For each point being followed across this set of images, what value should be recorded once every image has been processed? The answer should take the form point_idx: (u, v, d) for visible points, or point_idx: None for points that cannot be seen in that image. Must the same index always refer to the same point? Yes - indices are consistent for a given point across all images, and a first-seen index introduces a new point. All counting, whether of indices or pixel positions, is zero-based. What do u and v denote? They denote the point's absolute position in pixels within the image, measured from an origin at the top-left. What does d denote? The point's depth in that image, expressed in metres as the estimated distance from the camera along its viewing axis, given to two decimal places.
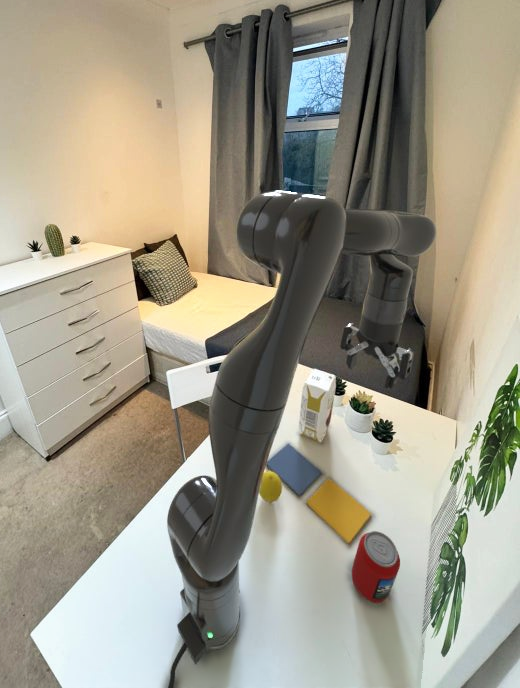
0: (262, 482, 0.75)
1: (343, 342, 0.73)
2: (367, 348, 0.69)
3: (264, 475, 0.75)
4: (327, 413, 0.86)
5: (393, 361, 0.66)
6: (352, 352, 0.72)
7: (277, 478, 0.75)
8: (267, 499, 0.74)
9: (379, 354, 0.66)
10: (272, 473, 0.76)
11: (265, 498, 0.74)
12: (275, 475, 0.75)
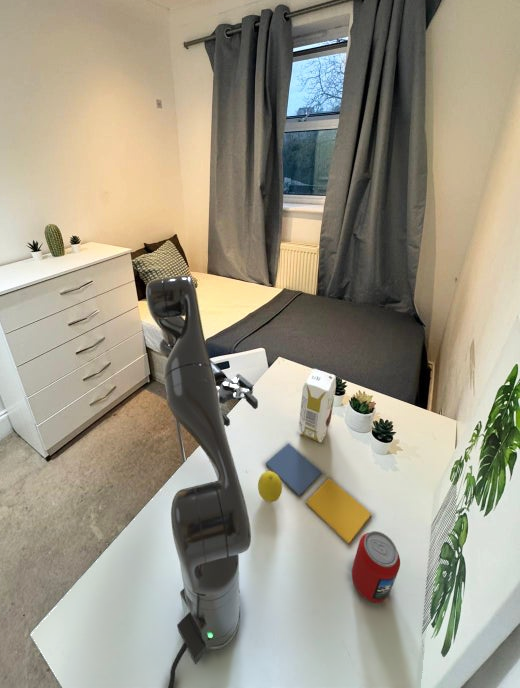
0: (262, 482, 0.75)
1: None
2: (220, 393, 0.82)
3: (264, 475, 0.75)
4: (327, 413, 0.86)
5: None
6: None
7: (277, 478, 0.75)
8: (267, 499, 0.74)
9: (229, 385, 0.84)
10: (272, 473, 0.76)
11: (265, 498, 0.74)
12: (275, 475, 0.75)
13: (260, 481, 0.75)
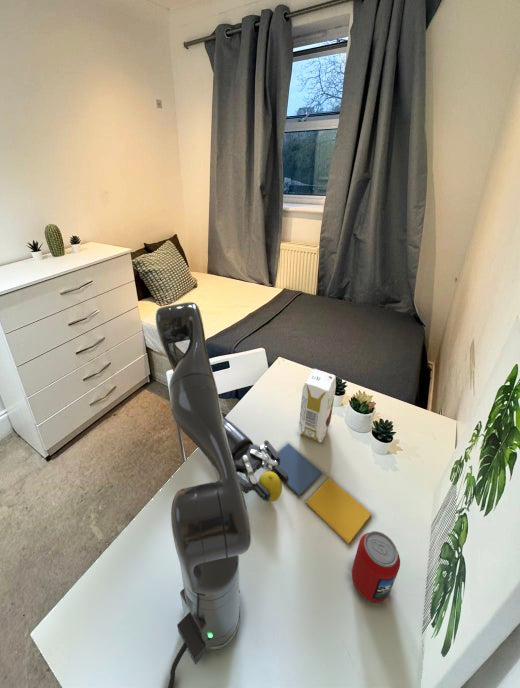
0: (262, 482, 0.75)
1: (241, 480, 0.74)
2: (249, 463, 0.78)
3: (264, 475, 0.75)
4: (327, 413, 0.86)
5: None
6: (254, 477, 0.75)
7: (277, 478, 0.75)
8: None
9: (256, 453, 0.80)
10: (272, 473, 0.76)
11: None
12: (275, 475, 0.75)
13: (260, 481, 0.75)
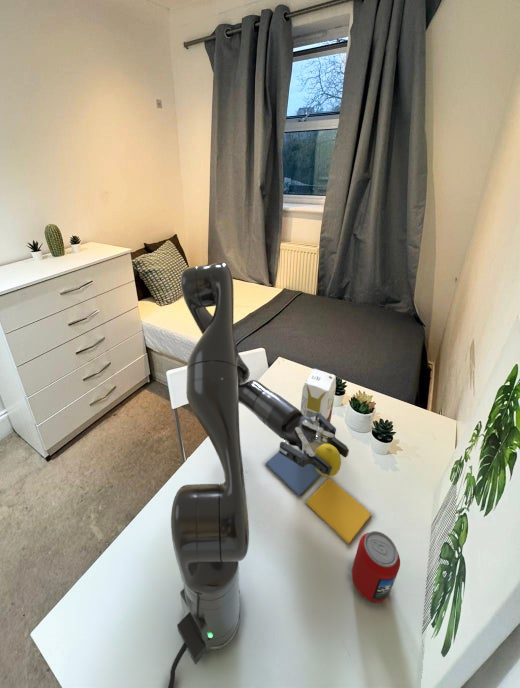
0: (320, 455, 0.67)
1: (297, 453, 0.67)
2: None
3: (321, 447, 0.68)
4: (327, 413, 0.86)
5: None
6: (311, 450, 0.68)
7: (336, 450, 0.68)
8: None
9: (309, 425, 0.73)
10: (330, 445, 0.68)
11: None
12: (334, 447, 0.68)
13: (317, 454, 0.68)
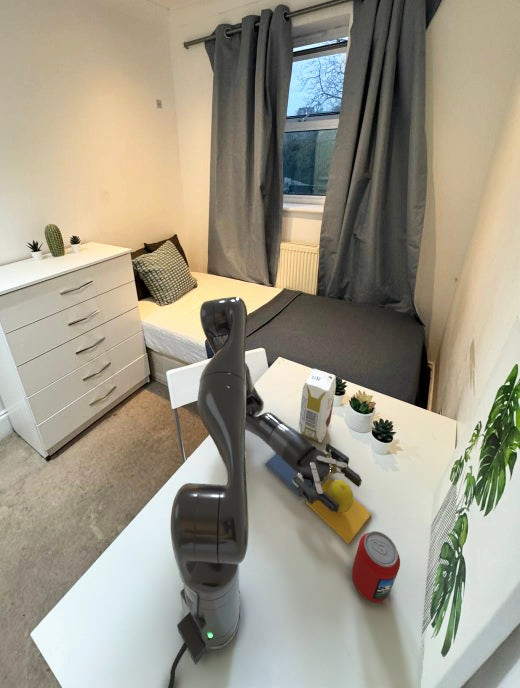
0: (334, 492, 0.71)
1: (307, 489, 0.71)
2: (317, 470, 0.75)
3: (335, 484, 0.72)
4: (327, 413, 0.86)
5: None
6: (319, 487, 0.71)
7: (349, 487, 0.72)
8: (339, 509, 0.71)
9: (323, 459, 0.76)
10: (343, 482, 0.73)
11: None
12: (346, 484, 0.72)
13: (331, 490, 0.72)
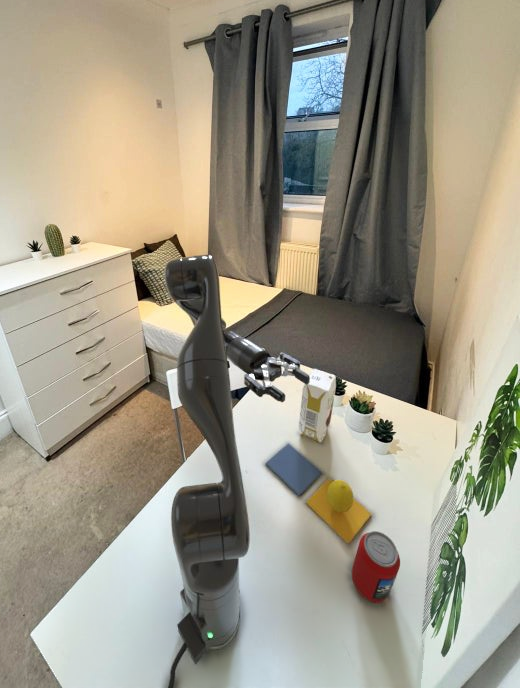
0: (334, 492, 0.71)
1: (256, 383, 0.74)
2: (268, 371, 0.78)
3: (335, 484, 0.72)
4: (327, 413, 0.86)
5: None
6: (268, 382, 0.74)
7: (349, 487, 0.72)
8: (339, 509, 0.71)
9: (275, 362, 0.80)
10: (343, 482, 0.73)
11: (337, 508, 0.71)
12: (346, 484, 0.72)
13: (331, 490, 0.72)
